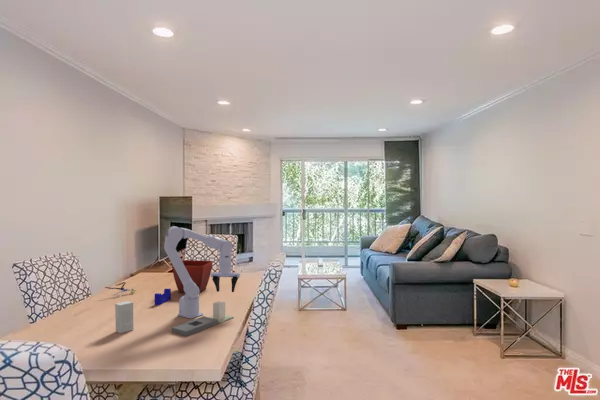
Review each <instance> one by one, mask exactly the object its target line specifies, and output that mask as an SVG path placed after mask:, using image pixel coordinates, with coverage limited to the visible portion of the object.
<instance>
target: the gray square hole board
mask: <svg viewBox="0 0 600 400" xmlns="http://www.w3.org/2000/svg"><path fill="white" fill-rule="evenodd" d="M209 317H210V316H204V315H202V316H201V317H200V316H199V317H198V318H197V317H196V318H193V319H192V320H189V321H186V322H182V323H180V324H178V325H175V326H172V327H171V333H174V334H177V335H181V336H184V337H189V336H191V335H193V334H196V333H198V332H201V331H203V330H206V329H208V328H212V327H214V326H216V325H218V324H219V323H218V320H217V319H213V318H209Z"/></svg>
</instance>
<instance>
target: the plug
mask: <svg viewBox="0 0 600 400" xmlns="http://www.w3.org/2000/svg"><path fill="white" fill-rule="evenodd" d="M225 315H226V302H225V301H219V300H218V301H216V302H213V303H212V316H213V318H215V319H219V320H220V319H222V318H225Z"/></svg>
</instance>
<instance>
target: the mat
mask: <svg viewBox="0 0 600 400" xmlns="http://www.w3.org/2000/svg"><path fill="white" fill-rule="evenodd" d="M208 317H209V318H213V315H211V316H208ZM234 318H235V317H234V315H233V316H232V315H229V314H225V318H222V319H220V320H219V319H217V320H218V324H221V323H224V322H227V321H230V320H231V319H232V320H233V319H234ZM213 319H215V318H213Z"/></svg>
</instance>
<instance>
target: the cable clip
mask: <svg viewBox="0 0 600 400" xmlns="http://www.w3.org/2000/svg"><path fill="white" fill-rule="evenodd" d="M171 292H172V289H171V288H164V289H163V293H158V292H156V293H154V306H161V305H163V304H165V303H166V302H168V301H170V300H171V295H172V293H171Z"/></svg>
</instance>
